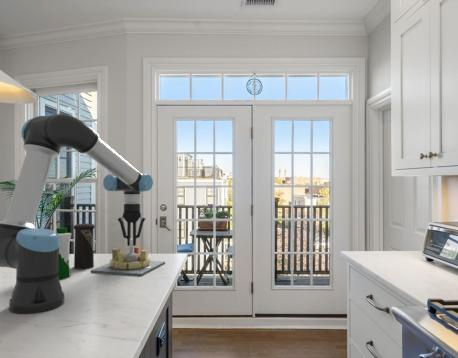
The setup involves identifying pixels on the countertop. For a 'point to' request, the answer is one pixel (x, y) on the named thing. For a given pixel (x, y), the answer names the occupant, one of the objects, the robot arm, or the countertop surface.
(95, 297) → the countertop surface
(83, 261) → the container
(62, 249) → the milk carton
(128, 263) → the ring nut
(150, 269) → the slate plate
